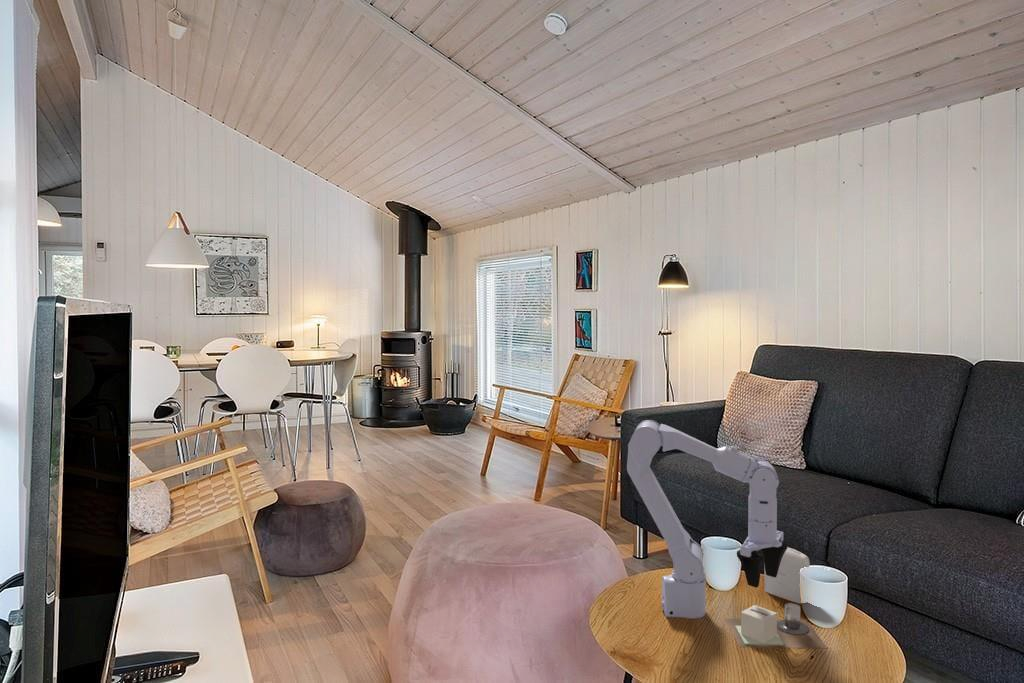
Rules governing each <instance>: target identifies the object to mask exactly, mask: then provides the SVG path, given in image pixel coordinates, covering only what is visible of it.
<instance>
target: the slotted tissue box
mask: <svg viewBox="0 0 1024 683" xmlns="http://www.w3.org/2000/svg"><path fill="white" fill-rule="evenodd" d="M740 619H741V634H742V635H745V636H747V637H750V638H752V639H755V640H757V641H759V642H762V643H765V642H767V641H768V640H770V639H771V638H773V637H775V636H776V635H777V620H778V612H776V611H773V610H770V609H767V608H764V607H761V606H759V605H756V604H753V605H752V606H750V607H748V608H745V609H743V610H742V611H741V612H740Z"/></svg>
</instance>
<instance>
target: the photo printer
mask: <svg viewBox="0 0 1024 683" xmlns="http://www.w3.org/2000/svg"><path fill="white" fill-rule="evenodd" d="M810 562H811V561H810V558H809V557H808V556H807V555H806V554H804V553H802V552H801V551H798V549H797V550H796V549H794V548H791V547H788V546H787V550H786V551H785V553H784V555H783V557H782V559H781V562H780V566H779V570H778V573H777V576H776V577H775V578H774V577H771V576H768V575H766V572H765V563H764V562H763V565H764V566H763V567H764V568H763V569H764V574H763V576H764V592H765V593H767V594H770V595H773V596H776V597H778V598H780V599H781V598H782V599H784V600H787V601H791V602H792V603H793V602H794V603H795V604H799V605H802V604H801V600H800V587H799V583H800V574H799V572H800V569H801V568H804V567H809V566H811V563H810Z"/></svg>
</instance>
